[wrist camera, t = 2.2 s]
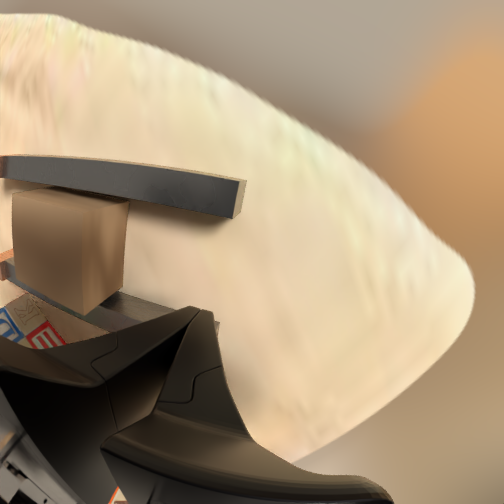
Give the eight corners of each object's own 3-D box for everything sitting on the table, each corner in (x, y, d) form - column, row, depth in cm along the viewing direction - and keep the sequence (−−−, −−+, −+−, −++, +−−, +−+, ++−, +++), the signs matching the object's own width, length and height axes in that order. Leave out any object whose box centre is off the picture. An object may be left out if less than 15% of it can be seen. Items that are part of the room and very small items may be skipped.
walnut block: (124, 285, 15) (84, 315, 11) (56, 258, 15) (16, 278, 11) (130, 201, 13) (83, 212, 10) (58, 185, 14) (12, 193, 10)
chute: (216, 343, 15) (204, 371, 12) (14, 265, 16) (-6, 275, 13) (246, 180, 12) (237, 181, 10) (14, 154, 13) (-10, 156, 11)
